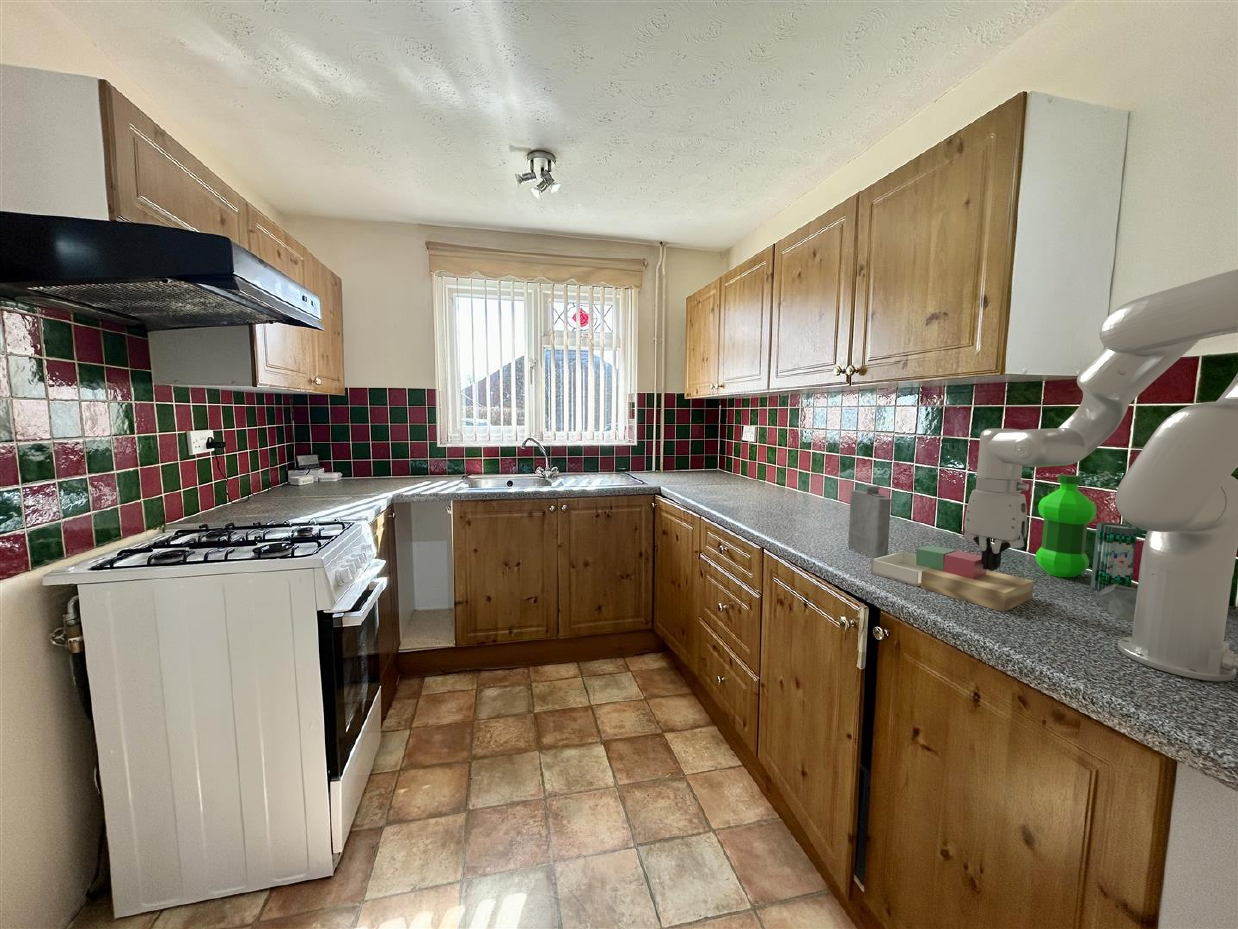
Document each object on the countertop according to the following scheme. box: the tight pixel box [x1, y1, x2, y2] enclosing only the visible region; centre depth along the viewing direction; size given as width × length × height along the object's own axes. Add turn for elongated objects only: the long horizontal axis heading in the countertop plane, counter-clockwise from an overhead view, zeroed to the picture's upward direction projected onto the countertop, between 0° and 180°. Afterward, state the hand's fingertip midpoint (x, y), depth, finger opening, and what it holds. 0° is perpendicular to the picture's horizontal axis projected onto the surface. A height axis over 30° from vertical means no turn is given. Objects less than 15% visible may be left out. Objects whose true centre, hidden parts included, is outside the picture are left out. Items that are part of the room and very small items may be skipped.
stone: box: [1096, 584, 1138, 623], centre depth 97 cm, size 11×4×10 cm
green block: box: [915, 545, 958, 571], centre depth 115 cm, size 6×6×4 cm
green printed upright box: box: [1090, 522, 1139, 591], centre depth 110 cm, size 6×6×15 cm
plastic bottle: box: [1035, 474, 1098, 578], centre depth 120 cm, size 10×10×25 cm
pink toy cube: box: [943, 550, 987, 579], centre depth 109 cm, size 6×6×4 cm
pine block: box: [920, 568, 1035, 613], centre depth 108 cm, size 16×14×4 cm
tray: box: [870, 550, 930, 587], centre depth 120 cm, size 11×14×4 cm
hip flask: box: [847, 484, 892, 560], centre depth 137 cm, size 16×4×20 cm, turn 5°
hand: (990, 568), depth 105 cm, fingers closed
